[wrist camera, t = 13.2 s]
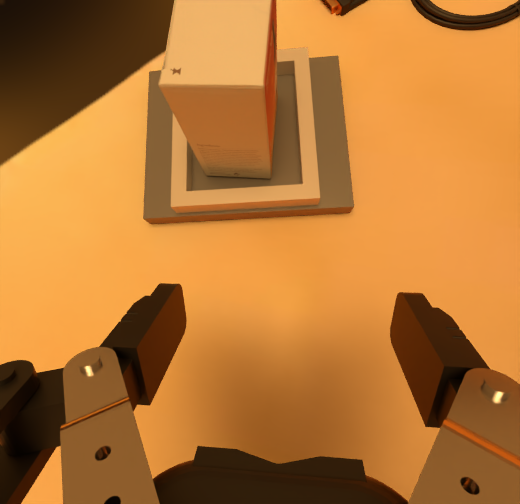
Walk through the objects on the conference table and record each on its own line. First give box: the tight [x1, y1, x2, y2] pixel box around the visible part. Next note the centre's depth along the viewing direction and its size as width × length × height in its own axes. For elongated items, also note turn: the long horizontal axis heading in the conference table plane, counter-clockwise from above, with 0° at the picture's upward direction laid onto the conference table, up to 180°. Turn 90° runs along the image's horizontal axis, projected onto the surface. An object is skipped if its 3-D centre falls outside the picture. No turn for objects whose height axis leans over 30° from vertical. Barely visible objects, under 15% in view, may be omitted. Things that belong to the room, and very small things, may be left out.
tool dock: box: [143, 47, 354, 224], centre depth 27 cm, size 17×14×3 cm
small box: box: [158, 0, 278, 179], centre depth 22 cm, size 8×6×10 cm
